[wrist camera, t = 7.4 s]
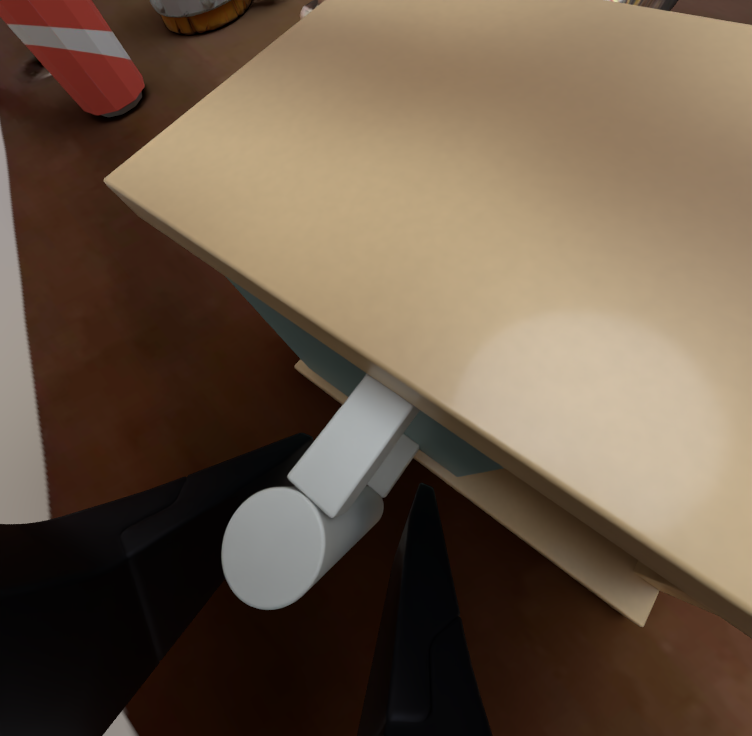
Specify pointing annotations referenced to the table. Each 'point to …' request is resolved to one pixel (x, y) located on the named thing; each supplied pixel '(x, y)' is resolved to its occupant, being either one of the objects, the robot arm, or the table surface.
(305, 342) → the sliding door
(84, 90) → the beverage can
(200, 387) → the table surface
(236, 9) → the mug
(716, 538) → the cabinet
